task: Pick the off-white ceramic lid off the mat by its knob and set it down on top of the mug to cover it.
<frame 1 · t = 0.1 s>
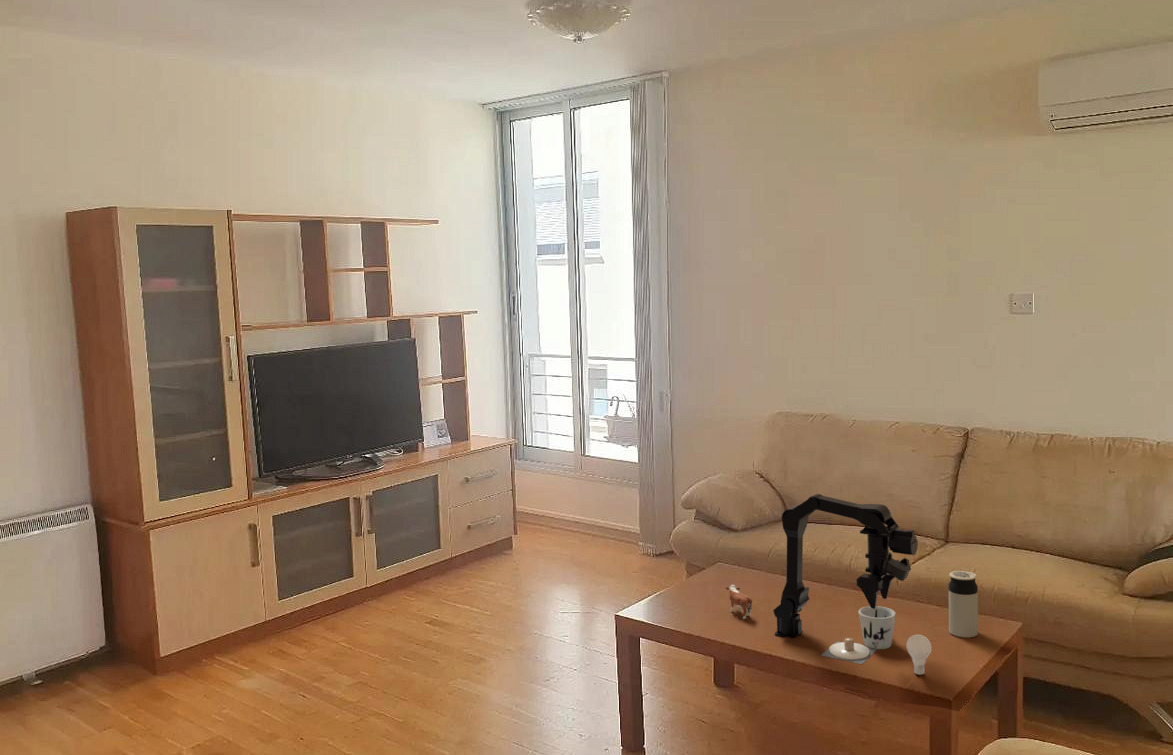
hand: (879, 603, 261), 15 cm above the table, tool pointing down, fingers open, 9 cm apart
bull figurine: (739, 614, 299), on the table
mug: (878, 642, 270), on the table
travel mug: (963, 633, 274), on the table
mat: (849, 653, 263), on the table
lightbulb: (919, 675, 247), on the table
lid: (849, 652, 263), resting on mat
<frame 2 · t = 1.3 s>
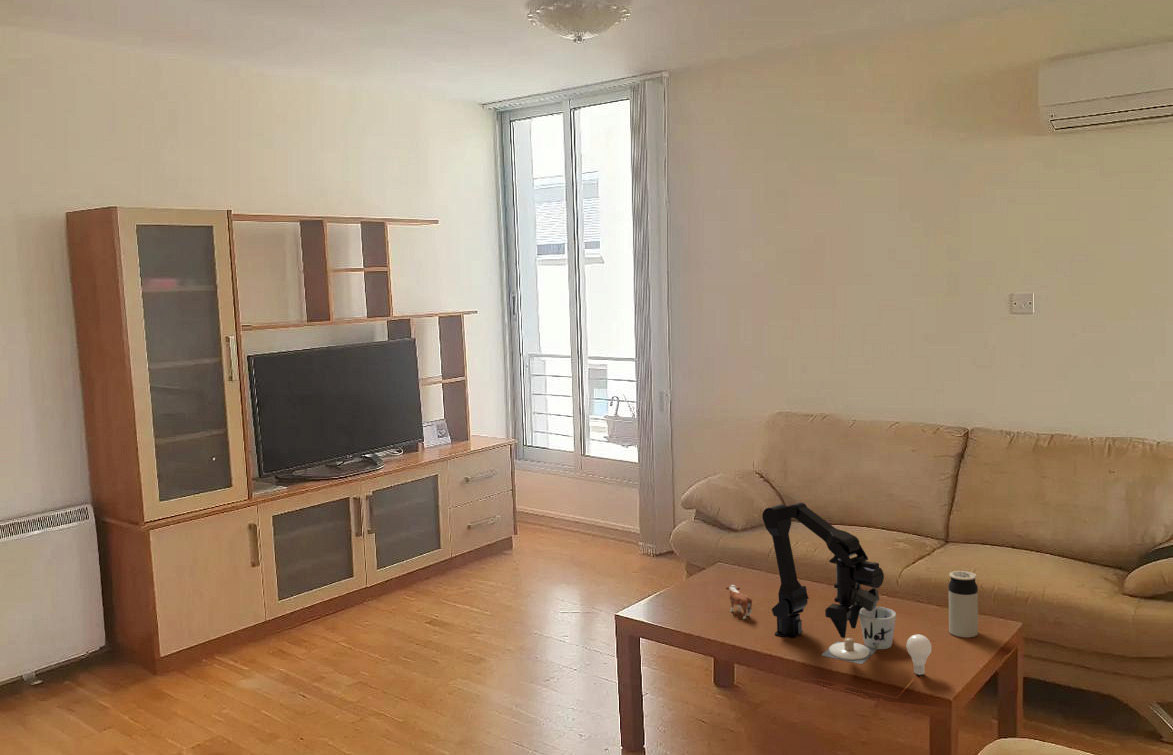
hand: (848, 632, 263), 6 cm above the table, tool pointing down, fingers open, 8 cm apart
mug: (878, 643, 270), on the table, touching gripper
everything else where it was.
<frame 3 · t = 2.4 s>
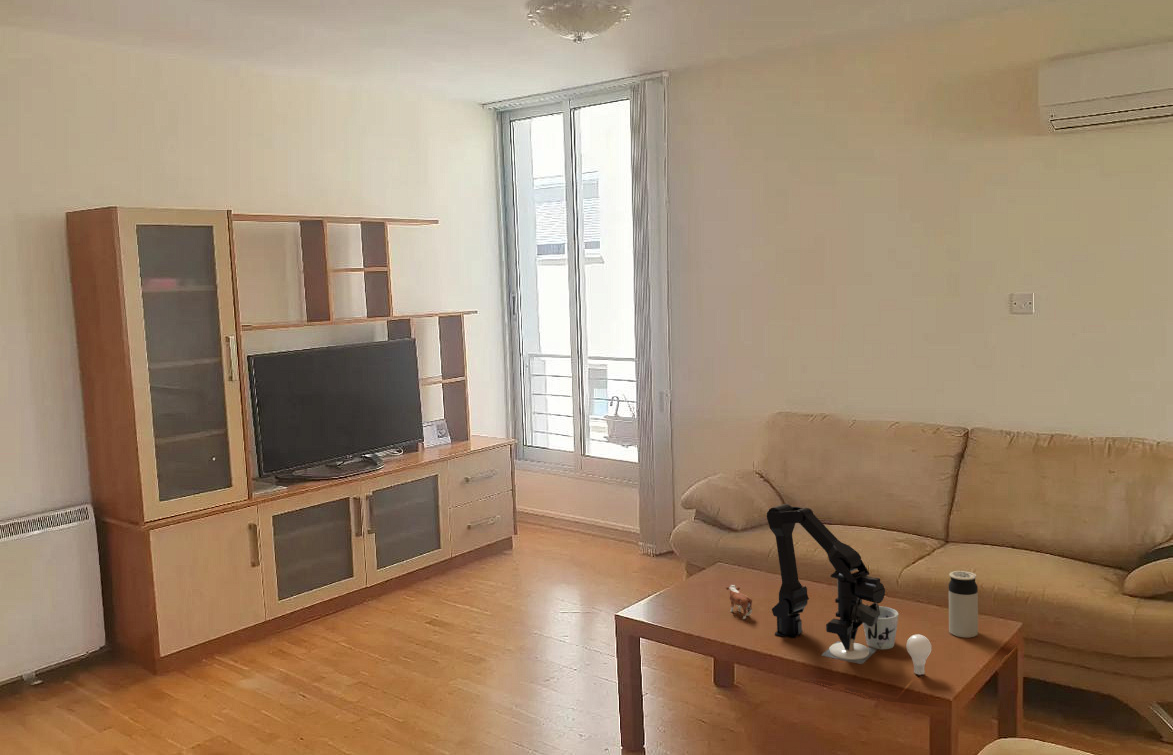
hand: (849, 647, 263), 2 cm above the table, tool pointing down, fingers closed on lid, 3 cm apart
mug: (879, 642, 270), on the table
lid: (849, 652, 263), resting on mat, touching gripper
everything else where it was.
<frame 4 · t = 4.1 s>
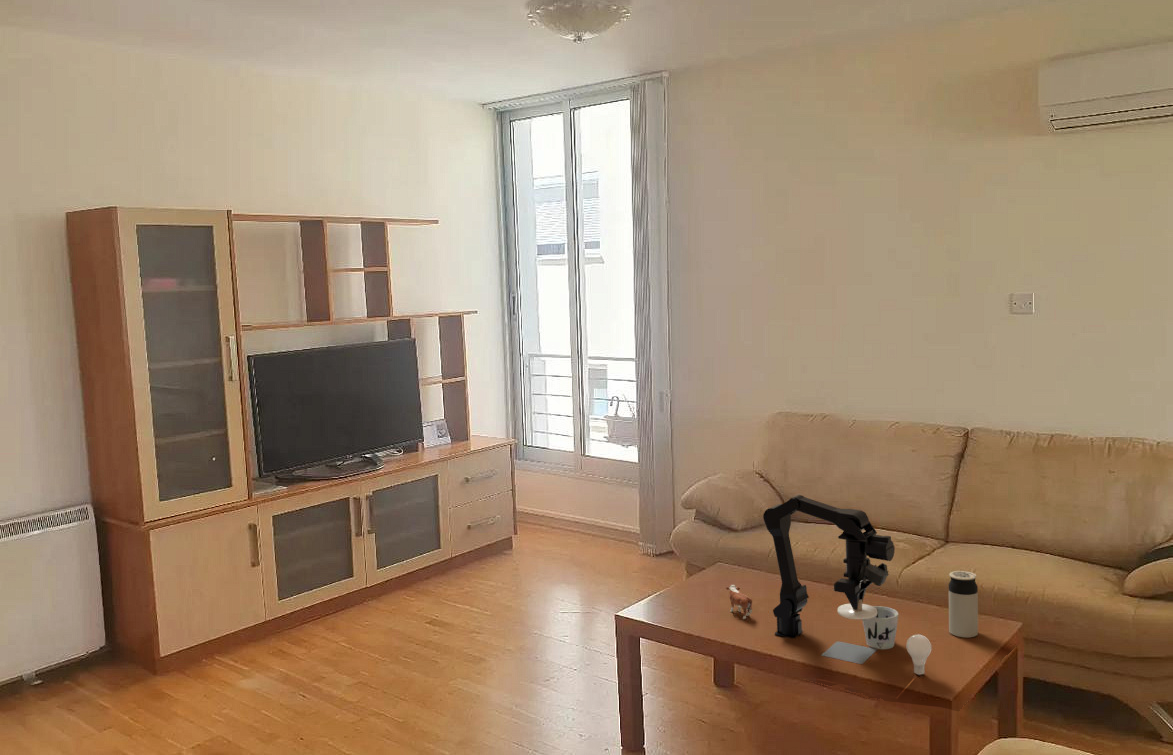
hand: (857, 608, 264), 13 cm above the table, tool pointing down, fingers closed on lid, 3 cm apart
lid: (857, 612, 264), point 11 cm above the table, touching gripper
everything else where it was.
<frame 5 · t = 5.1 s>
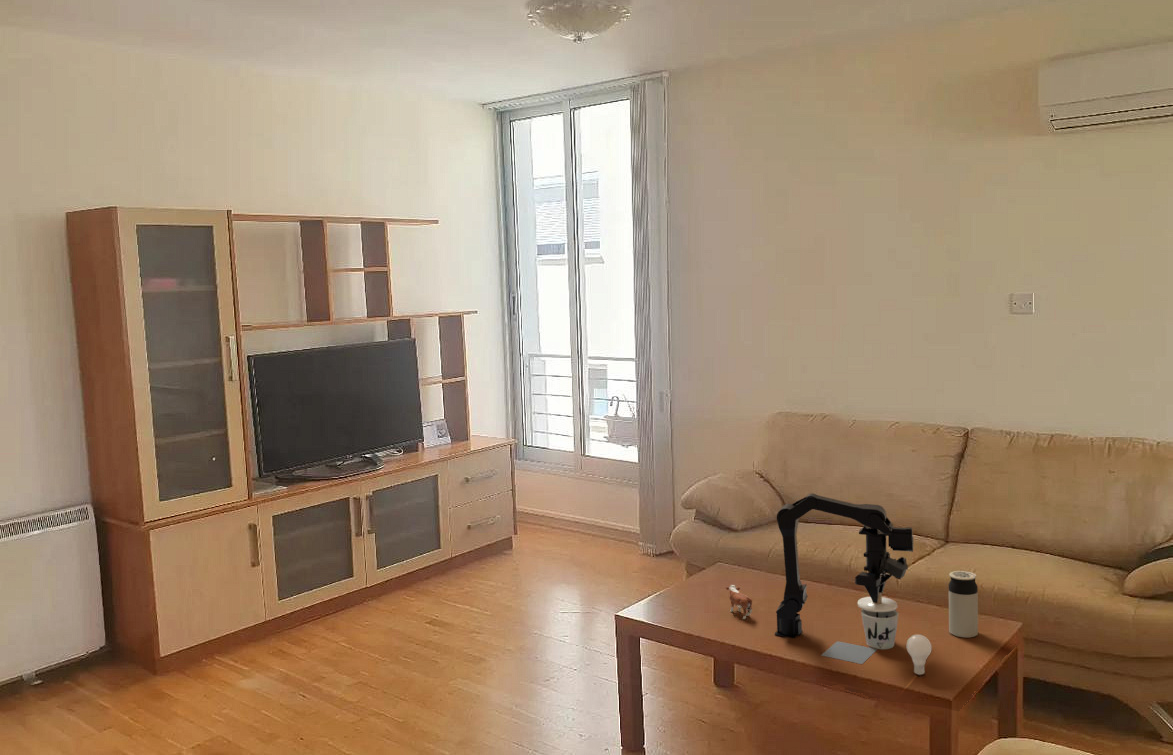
hand: (877, 601, 269), 12 cm above the table, tool pointing down, fingers closed on lid, 3 cm apart
lid: (877, 605, 269), point 11 cm above the table, touching gripper
everything else where it was.
when the fingers open (12 cm above the table, at t = 5.7 s): lid drops 1 cm, resting on mug.
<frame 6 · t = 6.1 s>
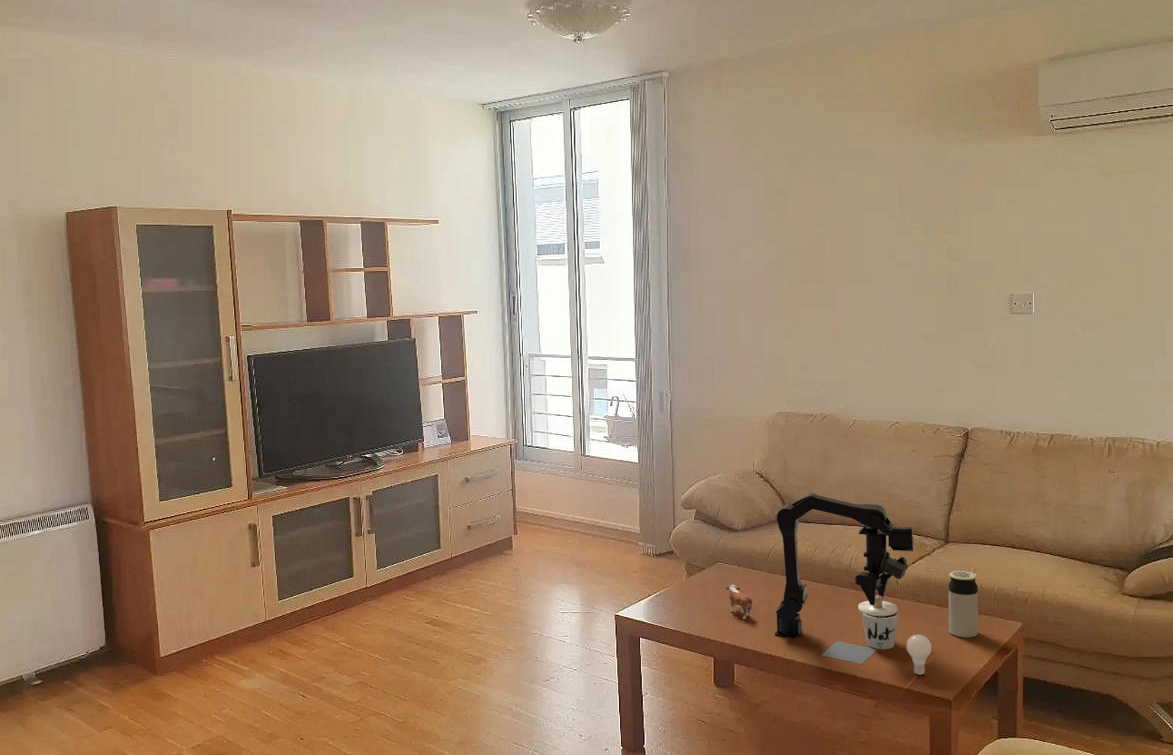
hand: (877, 601, 269), 12 cm above the table, tool pointing down, fingers open, 7 cm apart
mug: (880, 642, 270), on the table, touching lid
lid: (877, 609, 269), point 10 cm above the table, touching mug
everything else where it was.
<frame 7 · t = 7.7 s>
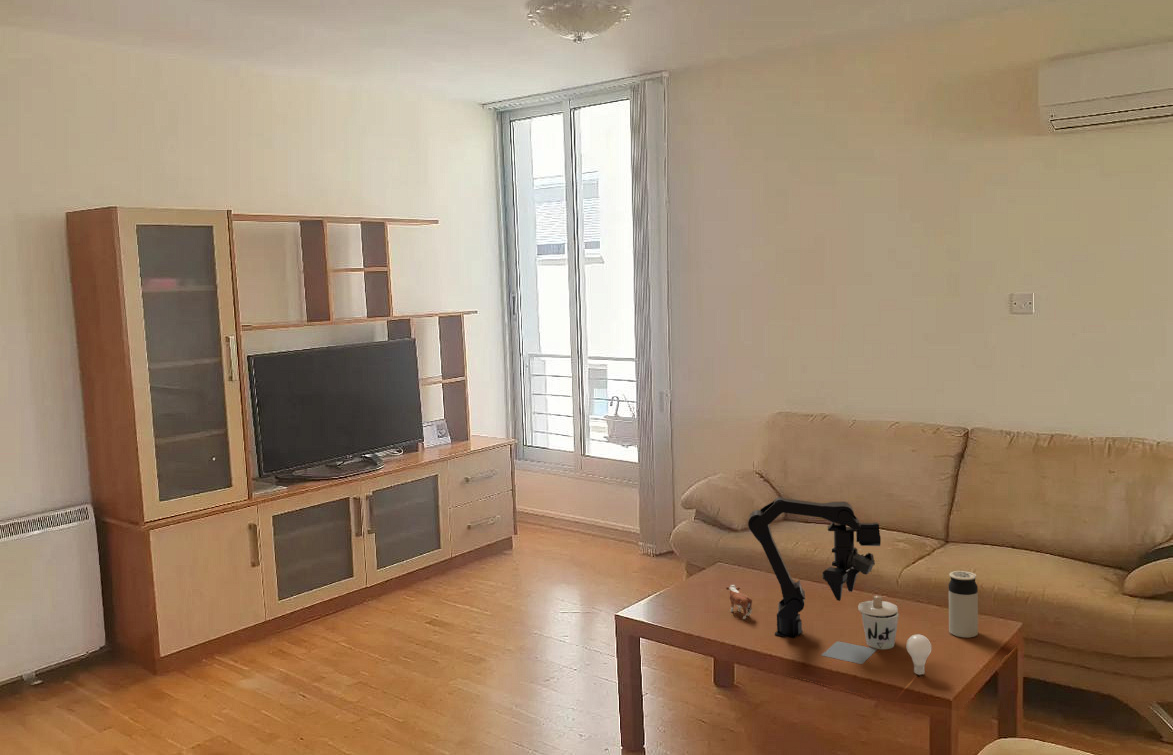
hand: (844, 595, 275), 12 cm above the table, tool pointing down, fingers open, 9 cm apart
nothing on the table moved.
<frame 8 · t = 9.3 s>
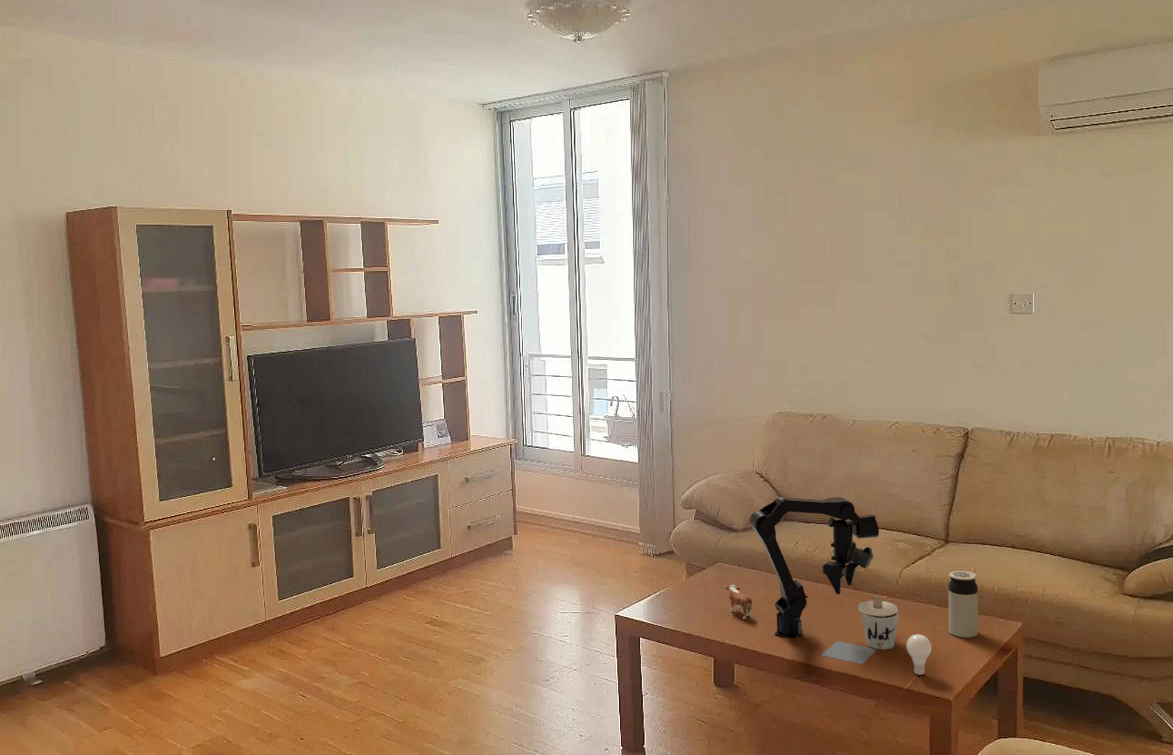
hand: (844, 589, 280), 12 cm above the table, tool pointing down, fingers open, 9 cm apart
nothing on the table moved.
at the end: lid 0.6 cm from the mug (horizontally); lid point 9.9 cm above the table; mug moved 0.7 cm from its start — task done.
